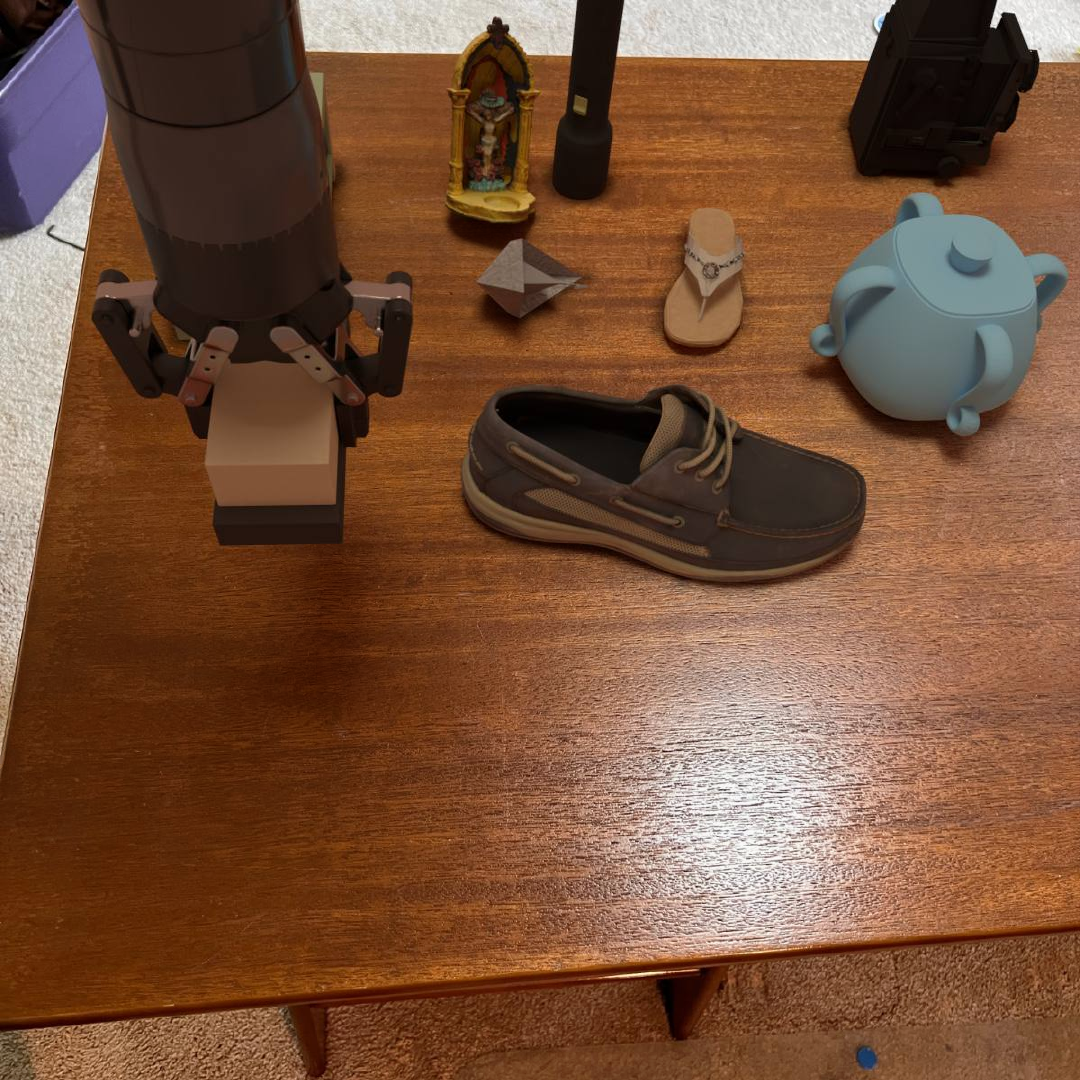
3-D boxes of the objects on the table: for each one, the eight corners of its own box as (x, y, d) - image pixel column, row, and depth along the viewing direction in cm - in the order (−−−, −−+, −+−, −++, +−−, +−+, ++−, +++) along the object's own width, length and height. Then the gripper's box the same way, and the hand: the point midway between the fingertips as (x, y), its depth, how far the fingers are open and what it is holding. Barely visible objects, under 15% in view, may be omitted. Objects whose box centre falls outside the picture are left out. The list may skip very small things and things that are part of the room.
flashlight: (566, 156, 100) (542, 187, 98) (594, -112, 80) (564, -81, 78) (615, 175, 100) (591, 207, 97) (656, -91, 79) (627, -59, 77)
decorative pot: (772, 363, 89) (819, 237, 77) (879, 265, 95) (937, 136, 84) (940, 479, 84) (1017, 363, 72) (1041, 367, 90) (1126, 245, 79)
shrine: (444, 163, 99) (441, 9, 86) (532, 164, 100) (543, 11, 87) (445, 252, 93) (443, 101, 80) (539, 252, 94) (552, 103, 81)
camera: (997, 191, 102) (1106, -13, 85) (856, 183, 101) (937, -24, 84) (975, 122, 107) (1073, -83, 90) (840, 114, 106) (914, -94, 89)
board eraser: (343, 544, 54) (332, 481, 49) (219, 546, 53) (197, 483, 48) (350, 332, 61) (342, 260, 56) (242, 332, 60) (224, 259, 56)
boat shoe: (858, 598, 77) (911, 518, 68) (451, 563, 77) (450, 477, 68) (845, 474, 83) (892, 385, 74) (466, 441, 83) (467, 346, 73)
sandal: (661, 353, 88) (671, 310, 84) (665, 221, 97) (674, 176, 92) (741, 361, 89) (756, 319, 84) (738, 229, 97) (751, 184, 92)
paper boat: (517, 228, 93) (617, 237, 90) (515, 303, 96) (612, 315, 92) (451, 242, 83) (562, 252, 80) (451, 325, 86) (558, 339, 82)
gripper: (13, 237, 39) (132, 497, 53) (417, 239, 40) (427, 493, 54) (50, 102, 43) (151, 378, 57) (416, 109, 44) (425, 377, 58)
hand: (286, 433), depth 55 cm, fingers closed on board eraser, 6 cm apart
